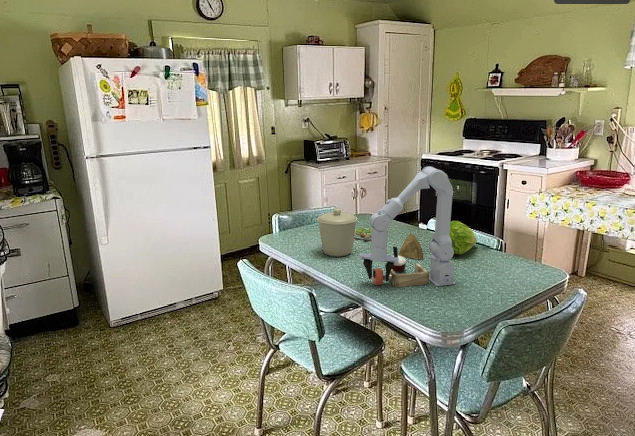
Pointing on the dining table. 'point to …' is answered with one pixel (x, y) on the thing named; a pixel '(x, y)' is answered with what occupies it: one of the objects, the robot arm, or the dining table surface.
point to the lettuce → (461, 237)
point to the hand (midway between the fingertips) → (378, 279)
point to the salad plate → (363, 233)
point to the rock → (411, 248)
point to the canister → (337, 232)
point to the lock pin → (380, 276)
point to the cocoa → (401, 264)
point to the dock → (411, 277)
